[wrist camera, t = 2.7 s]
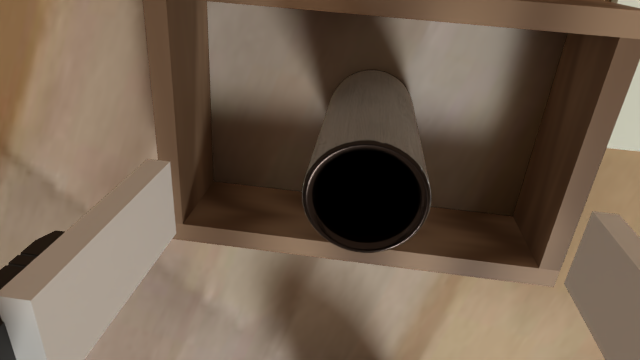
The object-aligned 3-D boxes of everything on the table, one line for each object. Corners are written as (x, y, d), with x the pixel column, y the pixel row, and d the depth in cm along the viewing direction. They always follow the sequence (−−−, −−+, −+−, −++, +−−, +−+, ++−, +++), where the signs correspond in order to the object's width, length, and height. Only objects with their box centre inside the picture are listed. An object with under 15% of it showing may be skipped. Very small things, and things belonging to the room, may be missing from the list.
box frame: (198, 193, 29) (165, 238, 24) (185, -35, 23) (139, -32, 19) (525, 232, 28) (553, 287, 23) (600, -1, 22) (657, 12, 17)
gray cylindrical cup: (313, 118, 26) (277, 210, 17) (362, 51, 24) (350, 113, 15) (378, 163, 27) (377, 275, 17) (430, 102, 25) (460, 191, 16)
